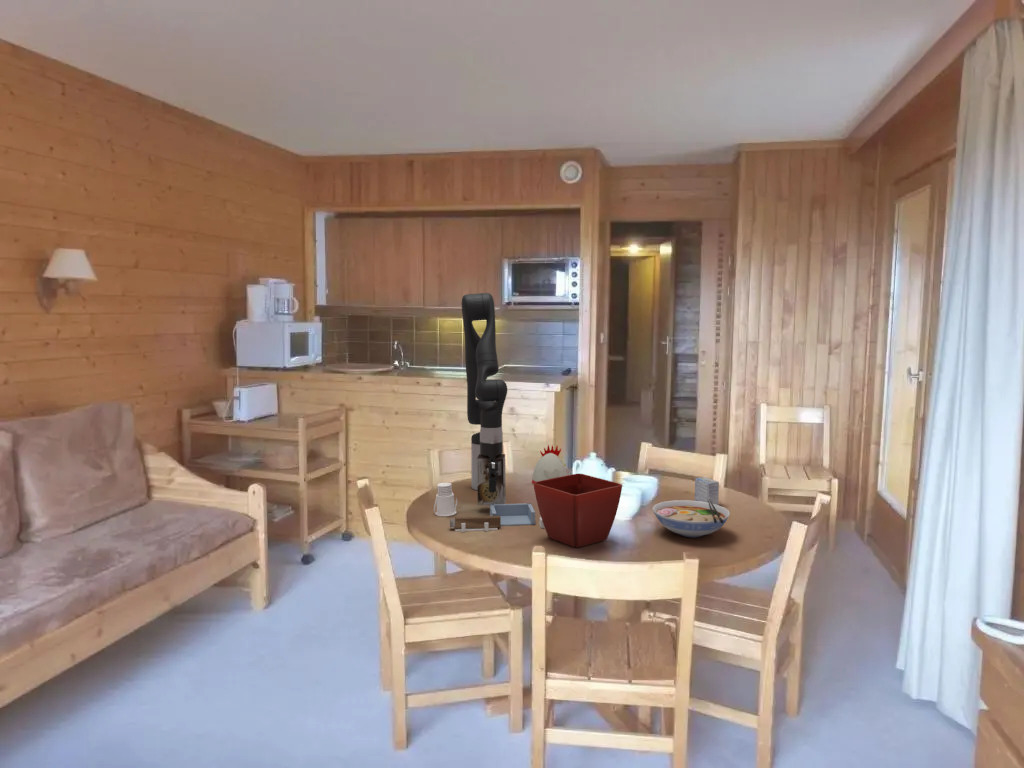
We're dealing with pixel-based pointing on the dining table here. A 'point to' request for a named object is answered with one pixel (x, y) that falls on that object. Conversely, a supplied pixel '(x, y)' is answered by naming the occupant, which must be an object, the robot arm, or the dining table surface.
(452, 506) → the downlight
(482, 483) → the cookie box
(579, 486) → the plant pot
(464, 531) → the pin mount
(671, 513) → the ramen bowl
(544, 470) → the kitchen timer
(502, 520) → the dock
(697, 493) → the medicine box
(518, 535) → the dining table surface
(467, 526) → the lock bar
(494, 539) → the dining table surface
